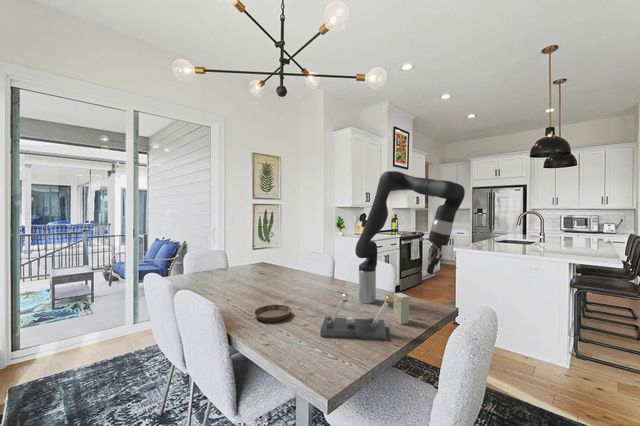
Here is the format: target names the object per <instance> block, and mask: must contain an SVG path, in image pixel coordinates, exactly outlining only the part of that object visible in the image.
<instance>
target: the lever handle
mask: <svg viewBox="0 0 640 426" xmlns="http://www.w3.org/2000/svg"><path fill="white" fill-rule="evenodd" d="M393 302H394V299H393V297H392V294H386V295H385V300H384V303H383V304H382V305H381V307H380V309H379V310H378V312H377V313H376V315H375V319H374V320H373V322H372V323H375V326H376V324H377V323H378V321H379V320H381V318H382V315H383V314H384V313H385V311H386V310H387V307H388V306H389V305H390V304H392V303H393Z"/></svg>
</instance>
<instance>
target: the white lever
mask: <svg viewBox="0 0 640 426" xmlns="http://www.w3.org/2000/svg"><path fill="white" fill-rule="evenodd" d="M349 298H350V297H349V294H348V293H347V292H344V293H342V296H341V300H340V302H339V304H338V305H337V307H336V309H335V310H334V312H333V314H332V317H331V319H330V321H332V323H333V321H334V319H335V318H337V316H338V314H339V313H340V311H341V309H342V307H343V305H344V304H345V303H346V302H348V301H349Z"/></svg>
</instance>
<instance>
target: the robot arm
mask: <svg viewBox="0 0 640 426" xmlns="http://www.w3.org/2000/svg"><path fill="white" fill-rule="evenodd" d="M399 190H408V191H412V192H415V193H416V194H420V195H423V196H428V197H436V198H440V199H442V200H443V199H444V200H445V201H444V203H443V204H441V205H439V206H437V209H436V211H435V214H434V219H433V221H432V223H431V228H430V232H429V236H428V239H427V240H428V242H429V243H432V245H430V247H429V248H428V254H427V255H428V256H427V262H428V265H427V268H426V273H427V274H429V275H433V274H434V270H435V267H436V266H438V264H439V263H440V262H441V259H442V257H443V254H442V253H443V246H445V247H447V246H448V245H449V243H450V239H451V234H452V231H453V225H454V221H455V217H456V213H457V211H458V210H459V208H460V207H461V206H462V205H461V204H462V203H463V201H464V198H465V197H466V196H465V193H466V190H465V187H464V186H463V185H462V184H459V183H457V182H453V181H450V180H443V179H442V180H441V179H440V180H438V179H433V178H425V177H419V176H417V177H416V176H414V175H413V176H412V175H409V174H407V173H404V172H401V171H397V170H391V171H384V172H383V173H382V174H381V175H380V177H379V181H378V184H377V188H376V193H375V196H374V200H373V202H372V205H371V208H370V211H369V213H368V216H367V219H366V221H365V225H364V228H363V230H362V233H361V234H360V236H359V238H358V240H357V242H356V246H355V251H354V252H355V255H356V257H357V258H359V259H365V260H363V261H362V262H361V263H360V264H359V265H358V301H359V302H360V303H362V304H375V303H376V302H377V270H376V269H377V265H378V245H377V243H376V242H375V241H374V240H372V239H373V238H374V237H375V236H376V235H377V234H378V233H379V232H380V231H381V230H382V229H383V228H384V226H385V224H386V222H387V220H388V217H389V210H388V204H387V201H388V198H389V195H390V193H391V192H392V191H399Z"/></svg>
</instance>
